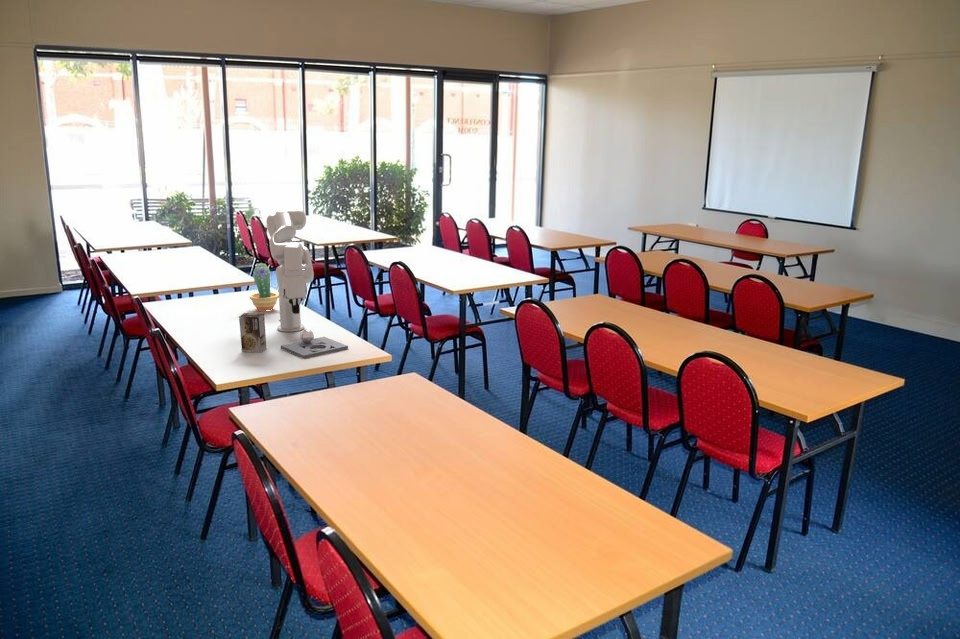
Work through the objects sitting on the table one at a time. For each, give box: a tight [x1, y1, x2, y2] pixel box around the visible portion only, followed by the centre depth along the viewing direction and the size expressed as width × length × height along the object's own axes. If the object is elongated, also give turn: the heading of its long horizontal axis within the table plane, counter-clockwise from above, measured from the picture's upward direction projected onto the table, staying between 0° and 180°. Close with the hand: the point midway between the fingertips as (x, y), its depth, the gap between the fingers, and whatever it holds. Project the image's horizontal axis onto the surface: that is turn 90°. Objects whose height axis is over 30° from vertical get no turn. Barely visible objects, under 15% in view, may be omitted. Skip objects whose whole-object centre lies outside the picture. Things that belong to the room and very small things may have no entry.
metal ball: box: [299, 329, 315, 343], centre depth 327 cm, size 6×6×6 cm
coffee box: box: [238, 312, 267, 353], centre depth 319 cm, size 9×6×16 cm
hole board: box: [280, 336, 349, 360], centre depth 324 cm, size 20×22×2 cm
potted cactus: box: [248, 262, 279, 311], centre depth 390 cm, size 15×15×25 cm
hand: (295, 313), depth 331 cm, fingers closed
